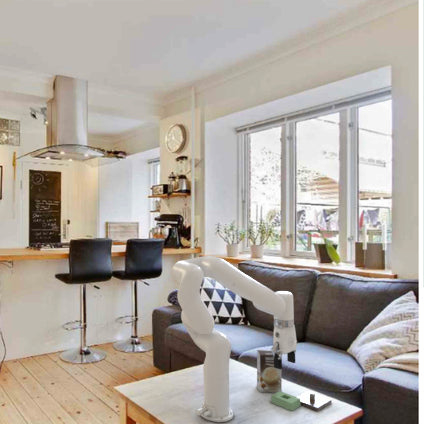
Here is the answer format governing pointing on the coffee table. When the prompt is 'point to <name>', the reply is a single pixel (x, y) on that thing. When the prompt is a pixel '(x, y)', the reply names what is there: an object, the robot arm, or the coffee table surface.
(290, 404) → the green block with hole
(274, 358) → the robot arm
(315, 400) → the wooden peg base
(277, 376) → the coffee box
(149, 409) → the coffee table surface
